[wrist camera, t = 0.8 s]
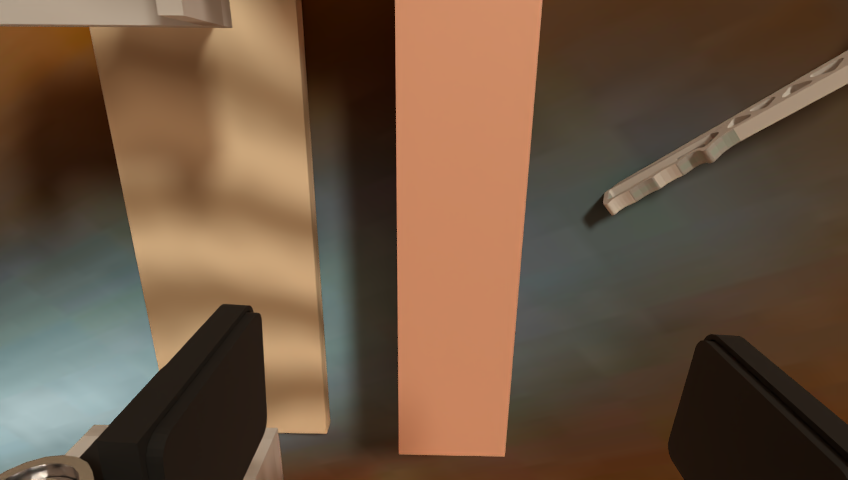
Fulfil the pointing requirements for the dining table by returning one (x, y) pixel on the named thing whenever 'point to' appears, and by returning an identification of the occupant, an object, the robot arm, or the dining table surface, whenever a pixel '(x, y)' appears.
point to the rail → (460, 215)
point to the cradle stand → (215, 180)
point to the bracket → (729, 133)
